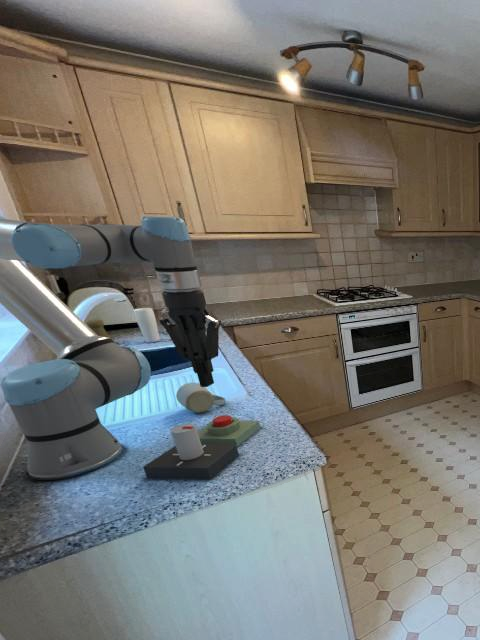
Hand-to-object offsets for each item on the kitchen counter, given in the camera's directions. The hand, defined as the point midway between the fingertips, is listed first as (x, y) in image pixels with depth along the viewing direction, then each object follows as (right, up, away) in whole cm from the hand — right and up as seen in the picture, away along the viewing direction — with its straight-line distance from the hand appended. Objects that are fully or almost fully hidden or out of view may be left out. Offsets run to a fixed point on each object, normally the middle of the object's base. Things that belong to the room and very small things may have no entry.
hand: (207, 384), depth 101 cm
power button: (+1, -10, +4) cm, 11 cm away
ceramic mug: (-17, -7, +22) cm, 28 cm away
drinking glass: (-90, +20, +85) cm, 126 cm away
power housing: (+1, -14, +6) cm, 15 cm away
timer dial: (+3, -16, -8) cm, 18 cm away
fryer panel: (+3, -19, -7) cm, 20 cm away
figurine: (-94, +26, +101) cm, 140 cm away
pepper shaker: (-107, +18, +80) cm, 135 cm away
